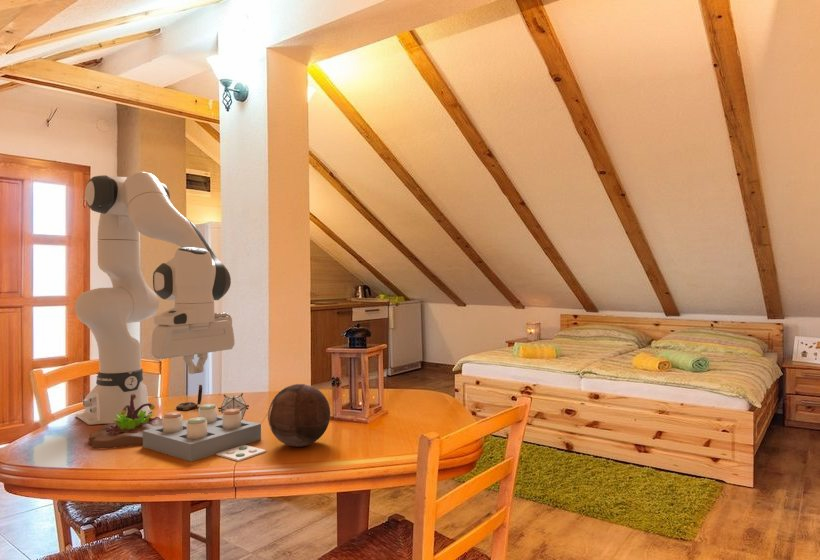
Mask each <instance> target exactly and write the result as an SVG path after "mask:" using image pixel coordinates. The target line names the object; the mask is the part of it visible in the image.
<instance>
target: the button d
mask: <svg viewBox="0 0 820 560" xmlns="http://www.w3.org/2000/svg"><path fill="white" fill-rule="evenodd" d="M223 412H224V413H221V415H222V426H223V429H227V430H232V429H236V428H239V427H242V422H241V411H240V409H227V410H224V411H223Z"/></svg>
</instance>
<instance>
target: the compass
mask: <svg viewBox="0 0 820 560" xmlns="http://www.w3.org/2000/svg"><path fill="white" fill-rule="evenodd" d="M197 392H198V393H197V404H196V403H195V402H193V401H191V402H190V401H188V402H181V403H179V404H178V405H176V407H175V409H176V410H177V411H191V410H194V409H197V408H198V406H200V405H202V398H203V397H202V396H203V385H202V384H198V391H197Z"/></svg>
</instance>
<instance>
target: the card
mask: <svg viewBox="0 0 820 560" xmlns="http://www.w3.org/2000/svg"><path fill="white" fill-rule="evenodd" d="M264 453H267V449H263V448H260V447H255V446H251V445H248V444H245V445H242V446H239V447H236V448H232V449H229V450H226V451H223V452H220V453H217V454H216V456H218V457H222V458H225V459H228V460H232V461H235V462H241V461H244V460H247V459H250V458H253V457H256V456H258V455H261V454H264Z"/></svg>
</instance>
